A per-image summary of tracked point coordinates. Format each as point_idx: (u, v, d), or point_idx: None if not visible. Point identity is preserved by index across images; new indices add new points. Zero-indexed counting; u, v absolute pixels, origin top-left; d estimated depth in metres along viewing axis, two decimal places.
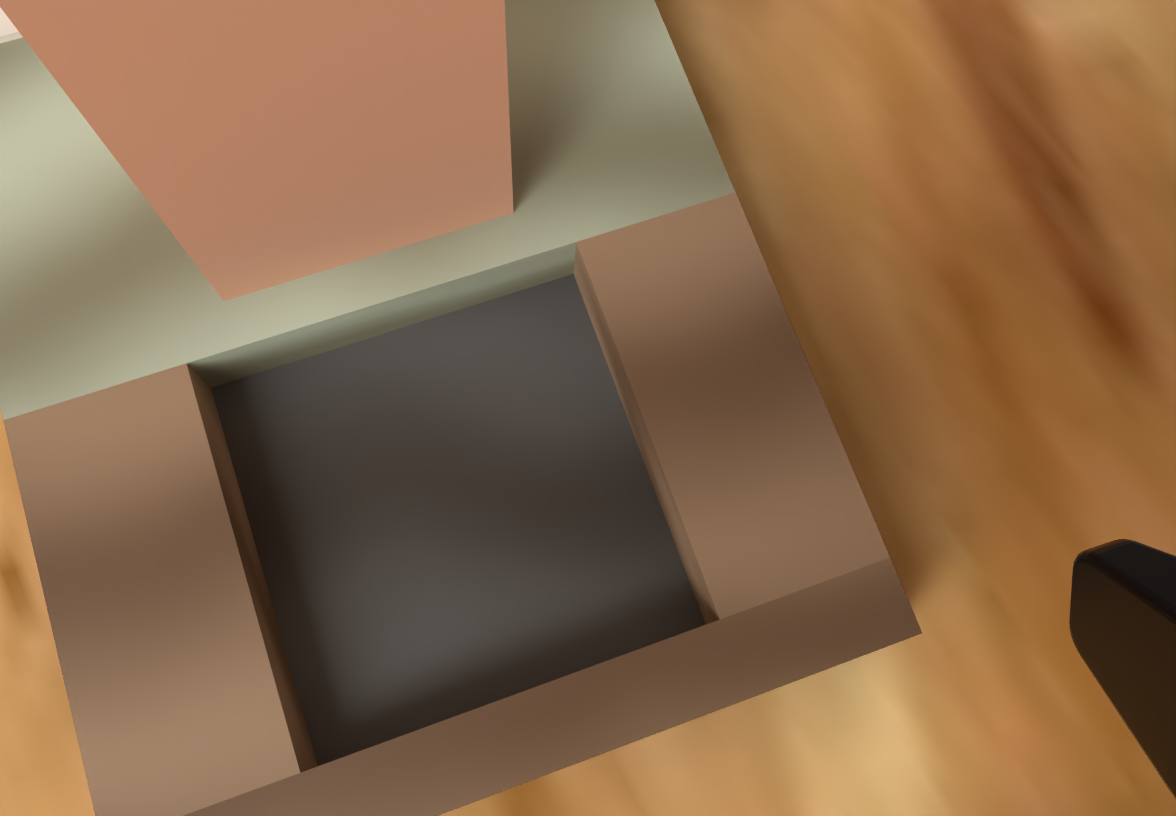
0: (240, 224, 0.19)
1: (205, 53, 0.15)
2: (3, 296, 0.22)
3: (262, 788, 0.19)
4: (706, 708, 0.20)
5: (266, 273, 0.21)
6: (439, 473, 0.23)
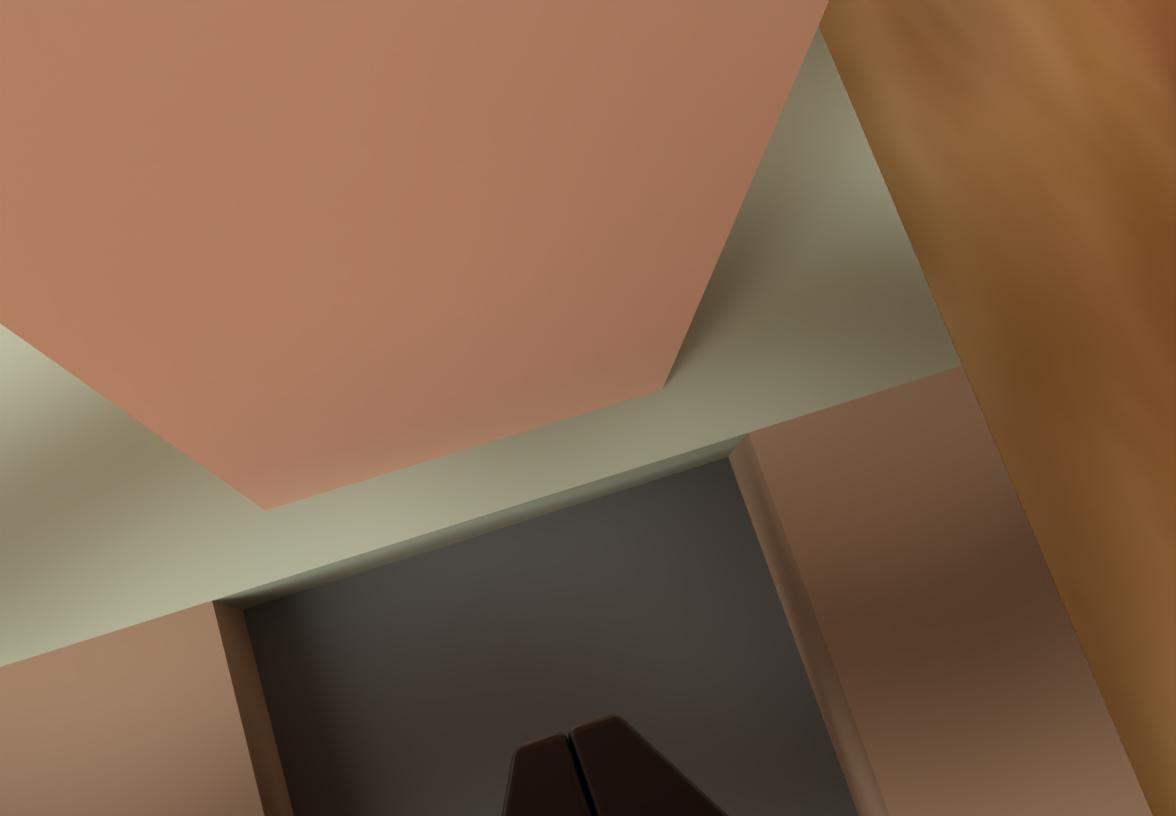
0: (299, 444, 0.13)
1: (274, 277, 0.09)
2: None
3: None
4: None
5: (326, 480, 0.15)
6: None
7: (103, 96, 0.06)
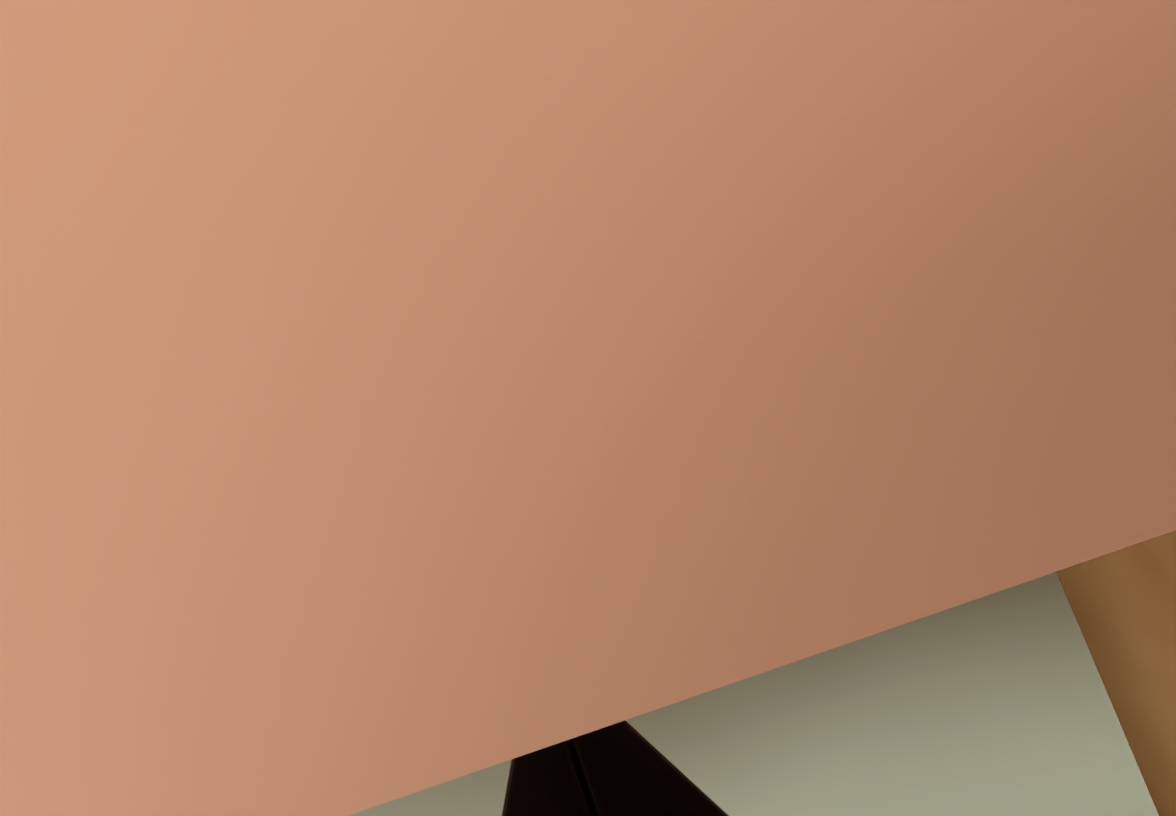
0: None
1: None
2: None
3: None
4: None
5: None
6: None
7: None
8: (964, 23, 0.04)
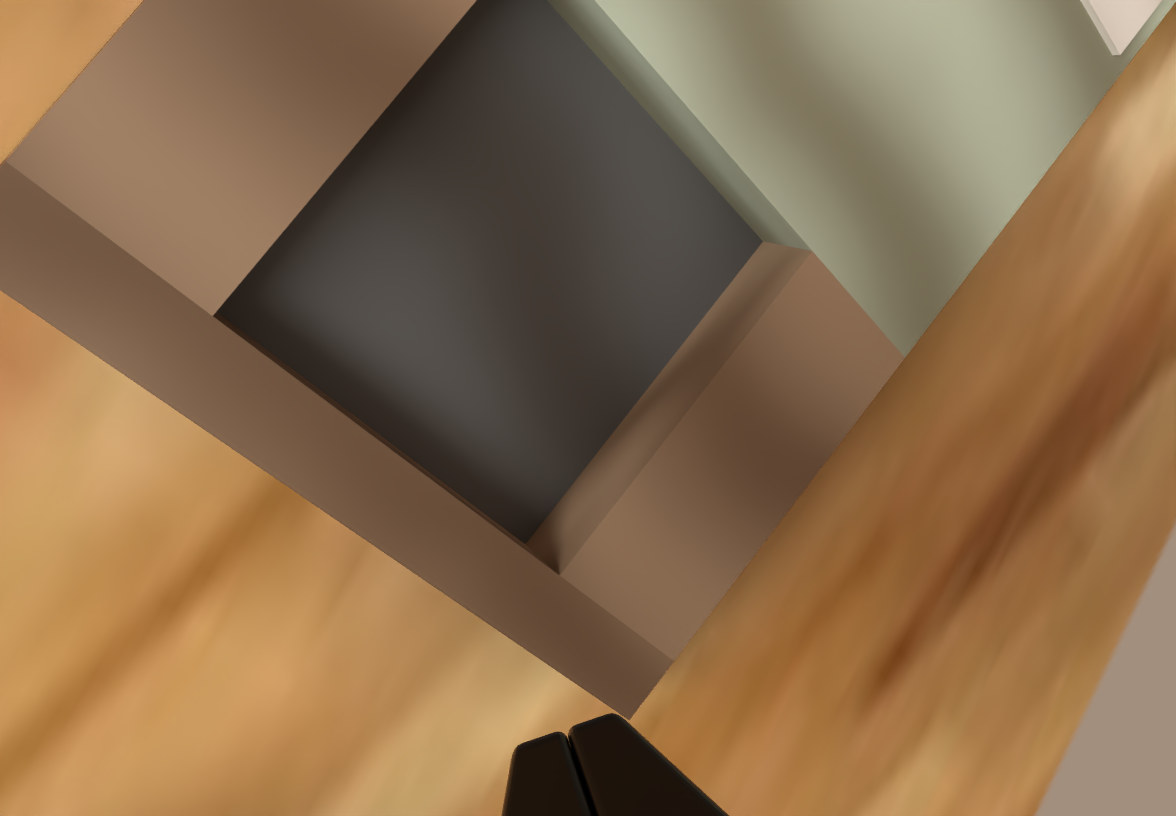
0: None
1: None
2: None
3: (173, 289, 0.17)
4: (482, 613, 0.21)
5: None
6: (532, 234, 0.21)
7: None
8: None
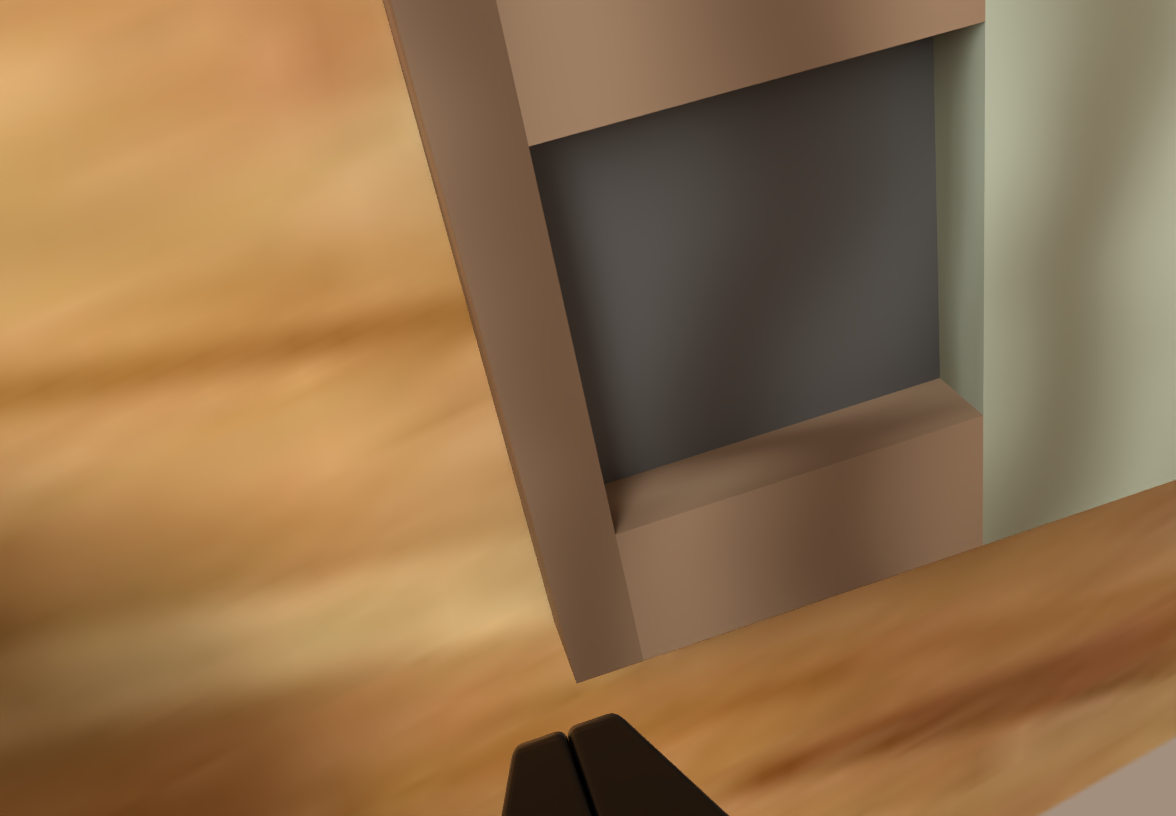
0: None
1: None
2: None
3: (517, 104, 0.17)
4: (538, 523, 0.21)
5: None
6: (783, 249, 0.22)
7: None
8: None
